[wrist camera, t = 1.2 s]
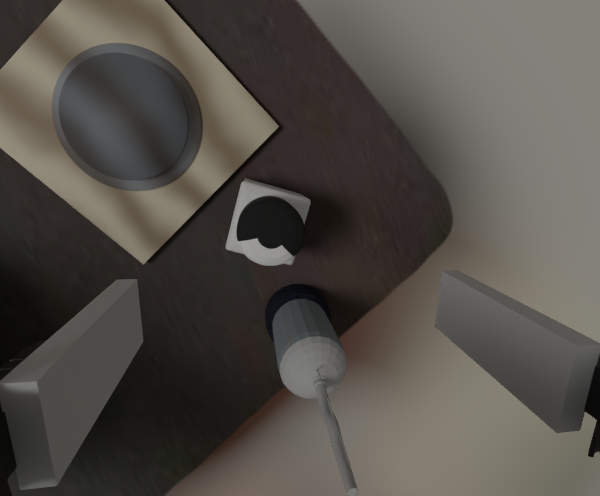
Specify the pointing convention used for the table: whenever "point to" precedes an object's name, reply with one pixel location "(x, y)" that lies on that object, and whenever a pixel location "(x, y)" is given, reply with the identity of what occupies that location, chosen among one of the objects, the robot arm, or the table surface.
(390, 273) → the table surface
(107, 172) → the square wooden board
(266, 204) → the medicine bottle
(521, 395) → the robot arm
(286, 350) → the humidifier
